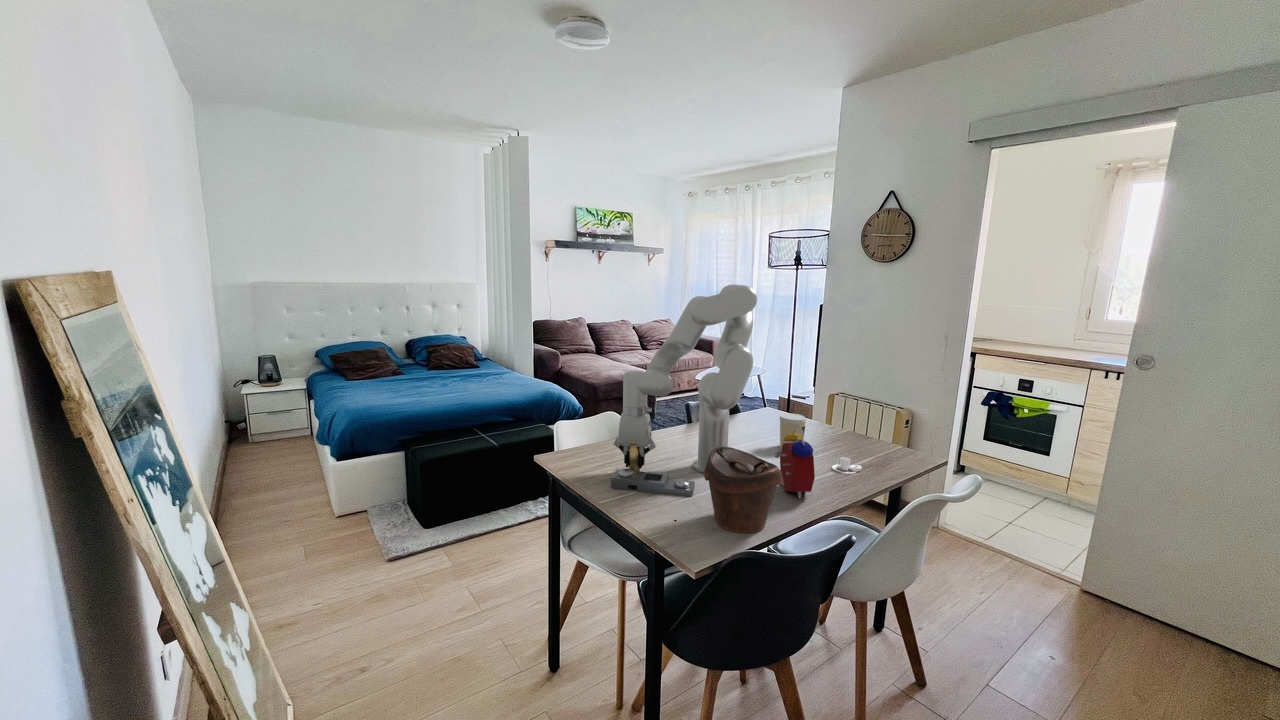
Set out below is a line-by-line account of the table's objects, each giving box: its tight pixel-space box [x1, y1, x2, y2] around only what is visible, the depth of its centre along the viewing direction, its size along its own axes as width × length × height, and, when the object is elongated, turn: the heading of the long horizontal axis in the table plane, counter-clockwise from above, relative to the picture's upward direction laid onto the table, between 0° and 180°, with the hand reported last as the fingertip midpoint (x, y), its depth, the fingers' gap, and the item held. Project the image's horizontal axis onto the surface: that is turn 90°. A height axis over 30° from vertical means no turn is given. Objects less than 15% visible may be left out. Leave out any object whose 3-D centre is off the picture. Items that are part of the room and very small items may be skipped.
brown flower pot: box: [703, 446, 784, 534], centre depth 129 cm, size 18×20×18 cm
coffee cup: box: [779, 413, 807, 449], centre depth 187 cm, size 9×9×12 cm
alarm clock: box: [774, 426, 816, 499], centre depth 149 cm, size 15×9×20 cm, turn 179°
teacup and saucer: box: [831, 456, 863, 475], centre depth 168 cm, size 9×8×4 cm
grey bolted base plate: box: [610, 468, 696, 497], centre depth 151 cm, size 24×8×4 cm, turn 78°
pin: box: [628, 441, 641, 471], centre depth 162 cm, size 5×5×11 cm
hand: (634, 465), depth 163 cm, fingers closed on pin, 3 cm apart
